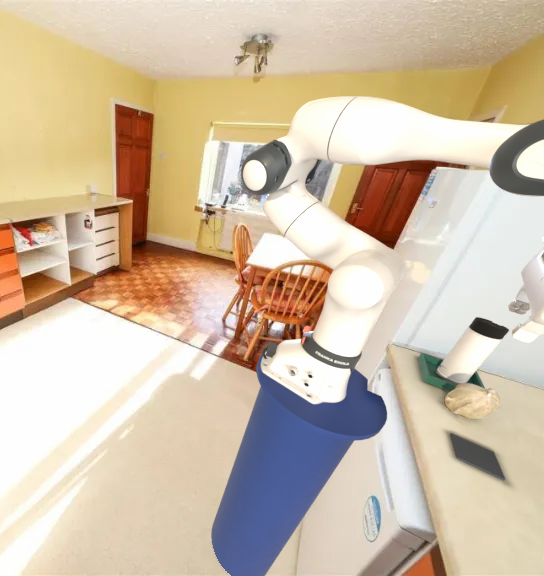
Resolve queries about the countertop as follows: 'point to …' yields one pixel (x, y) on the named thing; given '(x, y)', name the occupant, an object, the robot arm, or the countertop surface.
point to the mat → (476, 456)
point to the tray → (429, 374)
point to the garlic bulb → (472, 400)
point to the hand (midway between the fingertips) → (516, 323)
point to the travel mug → (471, 350)
